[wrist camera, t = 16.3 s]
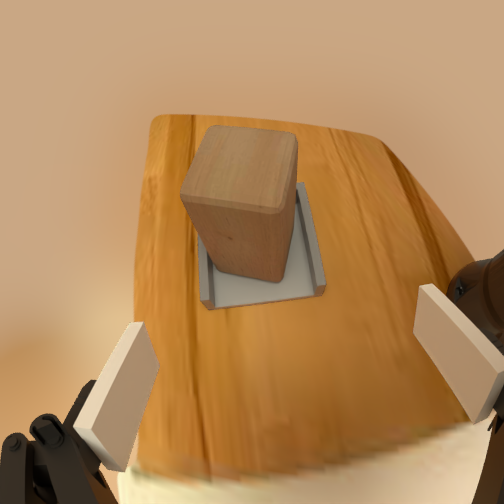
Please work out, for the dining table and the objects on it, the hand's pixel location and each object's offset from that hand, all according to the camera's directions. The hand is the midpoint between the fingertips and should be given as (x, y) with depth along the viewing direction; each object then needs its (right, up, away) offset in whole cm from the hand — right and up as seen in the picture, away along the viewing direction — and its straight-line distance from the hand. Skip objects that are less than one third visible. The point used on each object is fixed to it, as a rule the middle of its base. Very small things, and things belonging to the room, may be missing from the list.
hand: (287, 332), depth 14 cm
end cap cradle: (-1, +4, +34) cm, 34 cm away
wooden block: (-1, +4, +33) cm, 34 cm away
